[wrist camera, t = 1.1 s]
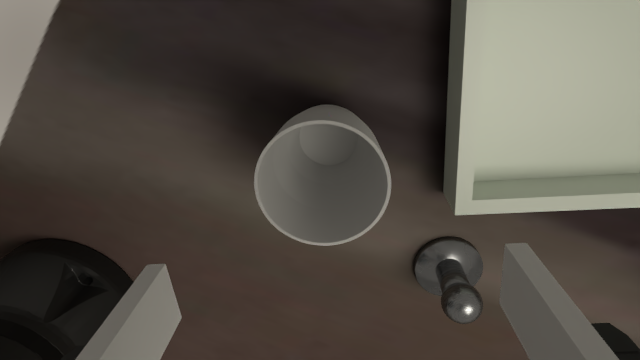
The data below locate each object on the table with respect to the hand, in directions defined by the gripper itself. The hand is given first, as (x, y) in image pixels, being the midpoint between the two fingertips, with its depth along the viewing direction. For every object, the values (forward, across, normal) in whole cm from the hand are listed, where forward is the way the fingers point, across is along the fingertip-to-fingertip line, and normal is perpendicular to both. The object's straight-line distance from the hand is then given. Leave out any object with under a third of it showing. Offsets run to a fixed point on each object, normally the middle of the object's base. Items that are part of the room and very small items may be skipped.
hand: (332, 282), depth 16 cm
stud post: (+18, +9, -13) cm, 24 cm away
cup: (+19, -1, 0) cm, 19 cm away
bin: (+18, +18, +4) cm, 26 cm away
